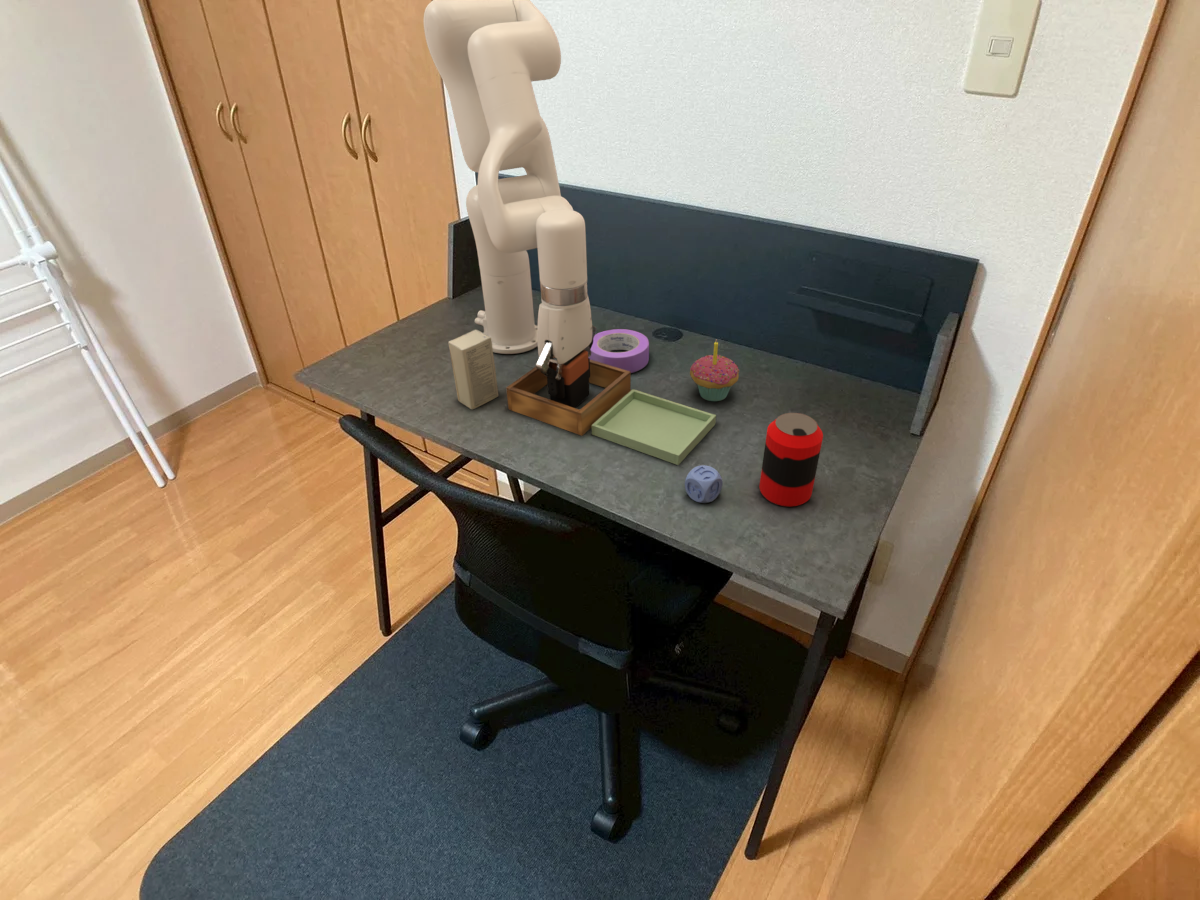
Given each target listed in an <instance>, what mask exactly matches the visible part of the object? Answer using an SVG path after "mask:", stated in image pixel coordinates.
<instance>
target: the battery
mask: <svg viewBox="0 0 1200 900" xmlns="http://www.w3.org/2000/svg"><path fill="white" fill-rule="evenodd" d="M554 359H557V358H555V357H554ZM552 369H553V370H555V371H556V369H557V364H556V363H553V364H552ZM561 377H563V378H564V385H565V397H564V398H563V399H560V398H557V397H554V396H551V395H549V400H552V401H555V402H558V403H561V404H564V405H567V406H570V407H573V408H576V409H577V407H578V406H579V405H580V404H582V402H583V401H585V400H586V399H587V398H588V397H589V396H590V383H589V366H588V352H587V351H585V350H582V351H581V352H580V353H578V354H577V355H575V356H574V357H573V358H571V359H570V360H568V361H567V362H565V363H564V367H563V372H562V376H561Z"/></svg>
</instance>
